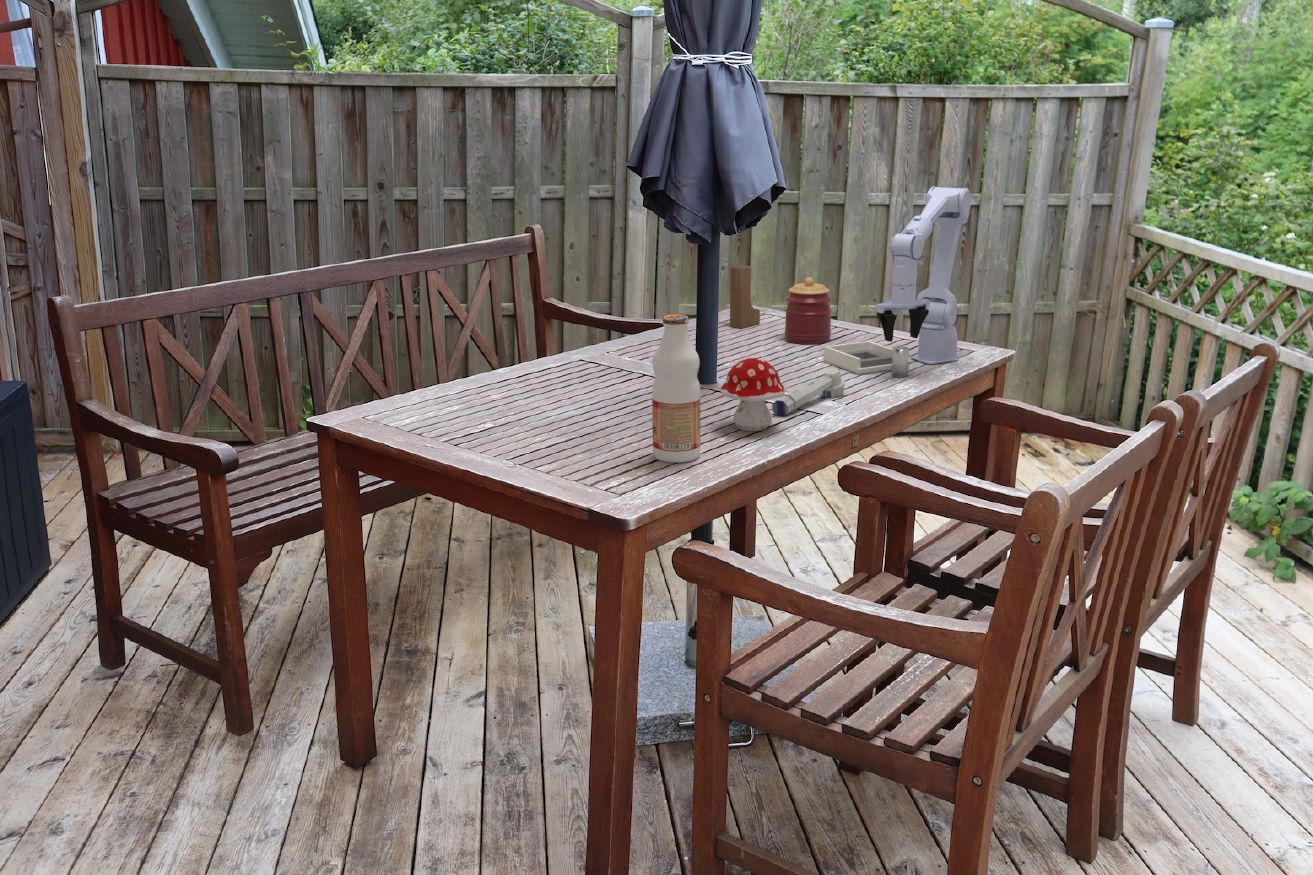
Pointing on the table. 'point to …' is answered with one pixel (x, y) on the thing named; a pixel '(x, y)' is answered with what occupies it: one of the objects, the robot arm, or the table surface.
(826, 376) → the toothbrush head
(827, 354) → the walled box
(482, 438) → the table surface
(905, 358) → the metal plug
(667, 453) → the fruit juice
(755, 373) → the decorative mushroom
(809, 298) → the canister
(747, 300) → the wooden block
